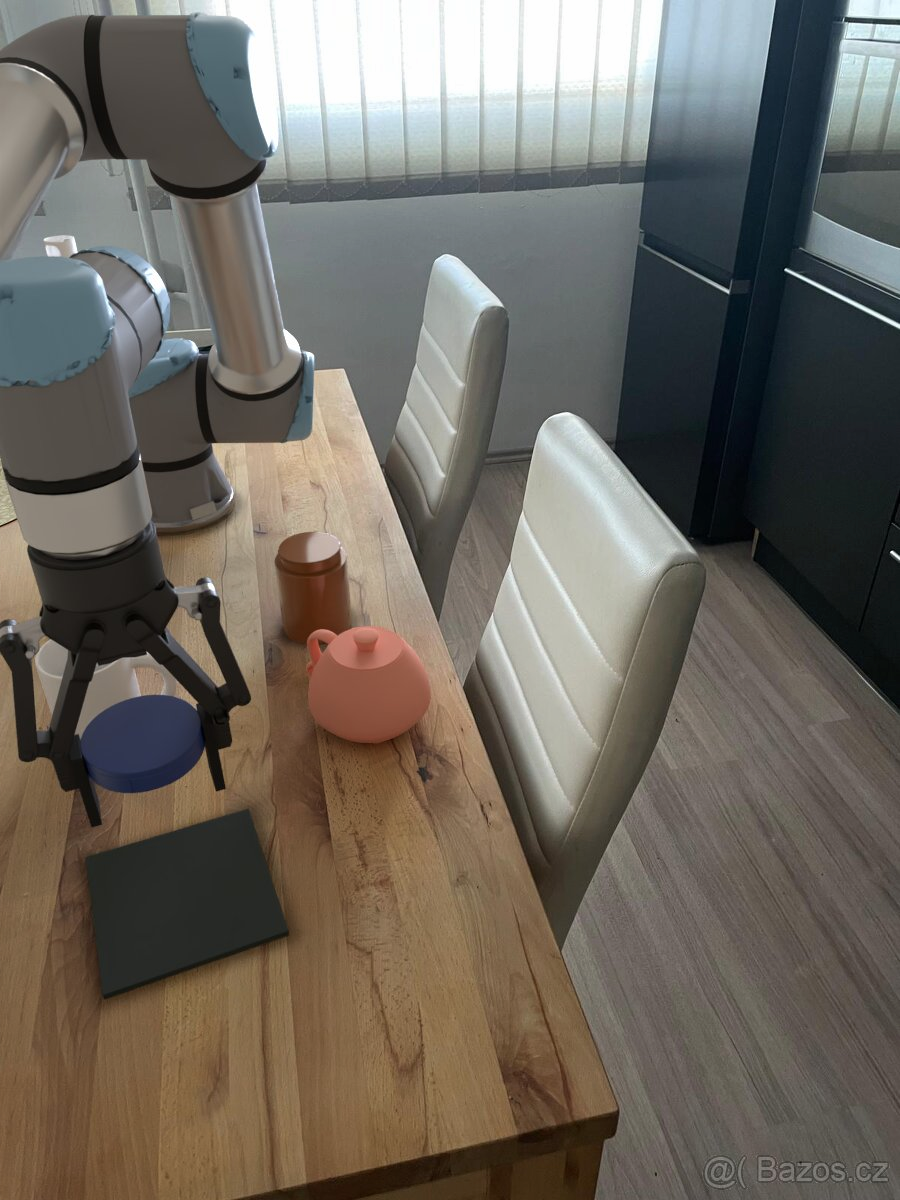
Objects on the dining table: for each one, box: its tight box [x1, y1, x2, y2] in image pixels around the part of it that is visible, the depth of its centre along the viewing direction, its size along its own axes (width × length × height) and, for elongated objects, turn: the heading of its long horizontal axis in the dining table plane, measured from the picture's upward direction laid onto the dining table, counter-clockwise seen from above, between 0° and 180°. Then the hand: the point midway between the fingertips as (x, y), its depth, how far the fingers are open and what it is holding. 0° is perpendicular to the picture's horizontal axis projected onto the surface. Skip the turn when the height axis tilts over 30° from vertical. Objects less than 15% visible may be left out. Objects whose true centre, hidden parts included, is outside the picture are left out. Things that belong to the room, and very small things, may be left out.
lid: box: [80, 694, 205, 794], centre depth 65 cm, size 8×8×2 cm
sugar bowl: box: [305, 625, 432, 744], centre depth 91 cm, size 12×14×10 cm
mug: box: [34, 638, 179, 740], centre depth 89 cm, size 12×8×10 cm
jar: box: [274, 531, 353, 645], centre depth 104 cm, size 8×8×10 cm
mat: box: [85, 808, 290, 1000], centre depth 75 cm, size 14×14×1 cm
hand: (157, 795), depth 69 cm, fingers closed on lid, 8 cm apart
